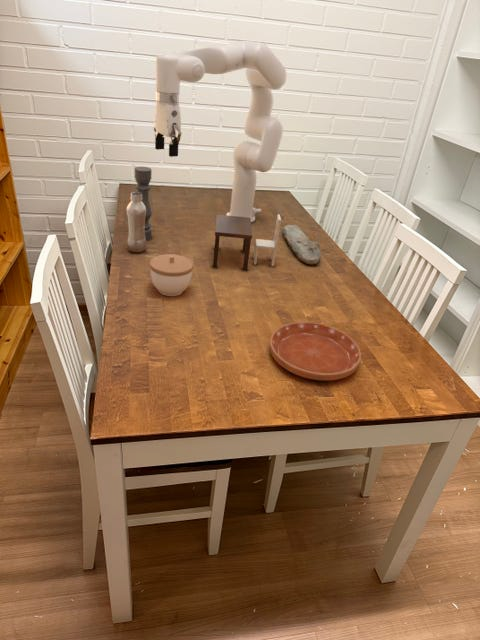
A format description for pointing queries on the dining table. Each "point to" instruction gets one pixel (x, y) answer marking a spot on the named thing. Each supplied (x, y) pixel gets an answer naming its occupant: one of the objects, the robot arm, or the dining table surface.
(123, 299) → the dining table surface
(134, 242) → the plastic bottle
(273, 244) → the chair
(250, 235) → the toy table
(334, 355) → the saucer
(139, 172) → the candle holder
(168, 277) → the lidded bowl
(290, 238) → the long grey stone
